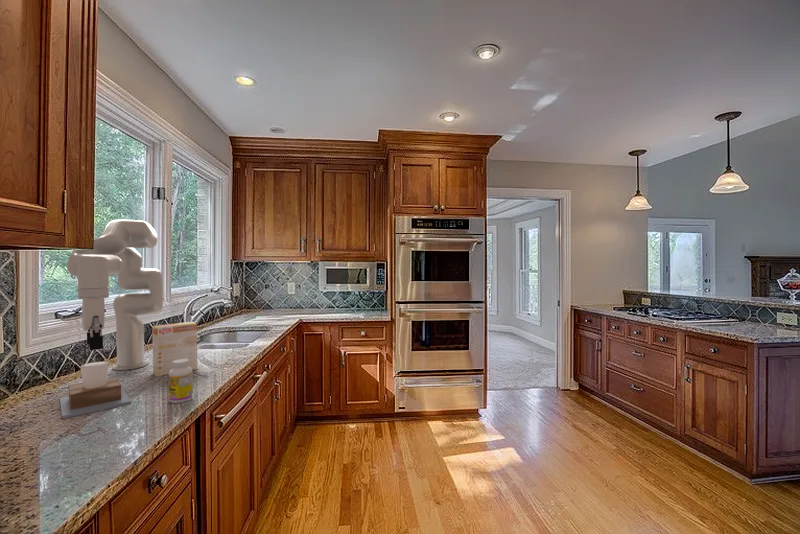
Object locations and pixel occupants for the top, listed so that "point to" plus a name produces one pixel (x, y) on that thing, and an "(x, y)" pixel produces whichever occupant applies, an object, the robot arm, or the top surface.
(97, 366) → the white tapered cup
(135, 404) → the top surface
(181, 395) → the supplement bottle
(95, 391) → the walnut plinth
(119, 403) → the slate gray board
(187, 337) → the coffeecake box
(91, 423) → the top surface
